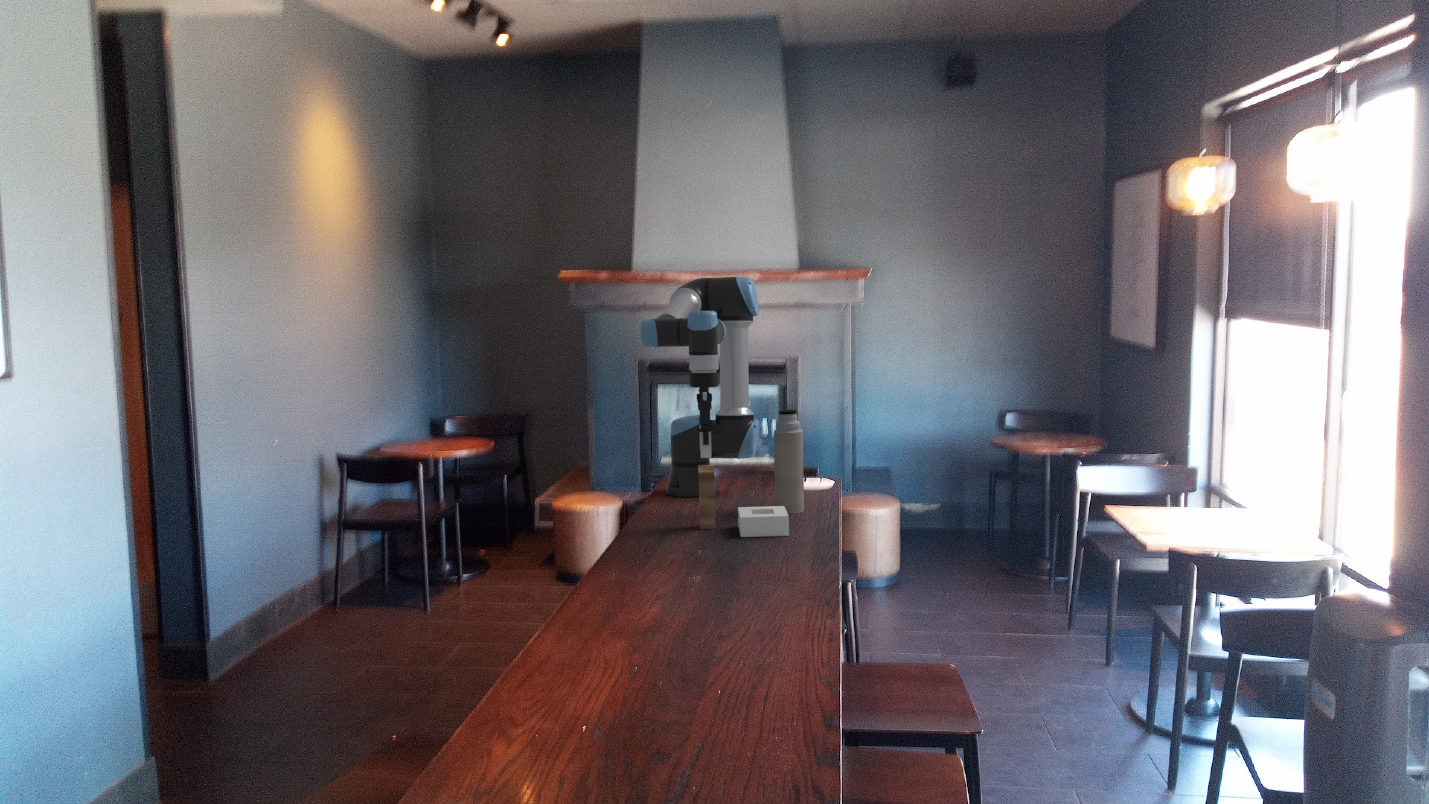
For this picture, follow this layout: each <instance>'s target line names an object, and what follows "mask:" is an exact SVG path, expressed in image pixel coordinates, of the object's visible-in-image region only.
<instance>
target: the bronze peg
mask: <svg viewBox="0 0 1429 804" xmlns="http://www.w3.org/2000/svg"><path fill="white" fill-rule="evenodd" d="M698 473H699V496H698V503H699V506H698V507H699V511H698V512H699V530H716V529H717V528H716V492H715V483H716V482H715V483H714V480H715V464H710V465H698Z"/></svg>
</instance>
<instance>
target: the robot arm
mask: <svg viewBox="0 0 1429 804" xmlns="http://www.w3.org/2000/svg"><path fill="white" fill-rule="evenodd" d="M758 315H759V300H758V293H757V289H756V285H755V283H754V280H753V279H752V278H751V277H747V276H729V277H727V276H725V277H724V276H723V277H721V276H720V277H698V278H696V279H692V280H690V281H688V282H686V283H684V284H683V285H680V286H678V288H677V289H675V290H674V292H673V293H672V294H671V295H670V298H669V303H668V304H667V305H666V306H665V308H664V309H663V310H662V311H661V312H660V314H659V315H658V316H657V318H653V317H651V318H644V319H643V320H642V321H641V324H640V330H639V332H640V333H639V334H640V340H641V343H642V345H643V346H645V347H646V348H647V347H648V348H649V347H651V348H673V347H675V348H676V347H682V348H683V347H688V358H686V361H685V362H686V363H688V364H689V366H688V369H689V371H691V372H689V374H688V378H689V379H688V380H689V384H688V385H689V387H690V388H697V389H698V392H699V393H696V402H697V408H698V409H697V410H698V411H699V414H695V415H689V416H684V417H678V418H676V419H674V420H673V421H672V422H671V423H670V434H669V437H670V456H671V457H670V459H671V468H670V471H669V476H668V479H667V483H666V486H665V492H666V494H667V495H670V496H673V497H680V498H681V497H682V498H683V497H684V498H685V497H686V498H689V497H691V498H692V497H693V498H694V497H699V473H698V465H711V463H710V460H711V459H737V460H741V459H750V458H752V457H754V456H755V455H756V452H757V449H758V445H759V444H758V443H759V438H760V437H759V436H760V420H759V419H757V418H755V413H754V412H753V411H752V409H750V399H749V398H750V392H749V391H750V388H749V387H750V386H749V385H750V384H749V383H750V382H749V376H750V375H749V373H750V372H749V328H750V326H751V325H753V323H754V317H757V316H758ZM718 345H719V348H718ZM718 350H719V351H718ZM718 370H719V373H718ZM718 386H719V389H720V391H719V392H720V393H719V394H720V395H719V399H720V401H719V403H720V405H719V406H720V408H719V409H718V410H717V411H716V413H715V415H714V417H715V419H711V410H712V402H713V393H712V392H711V393H710V388H716V387H718ZM714 483H715V493H716V492H717V484H716V479H714Z"/></svg>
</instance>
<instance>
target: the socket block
mask: <svg viewBox="0 0 1429 804" xmlns="http://www.w3.org/2000/svg"><path fill="white" fill-rule="evenodd" d="M737 515H738V516H737V520H738V521H737V522H738V525H737V526H738V529H739V535H740V538H751V537H752V538H754V537H755V538H757V537H758V538H759V537H785V536H787V537H789V536H790V521H789V519H790V517H789V514H788V513H787V511H786V509H785V507H784V506H775V505H773V506H772V505H771V506H770V505H769V506H739V507H737Z"/></svg>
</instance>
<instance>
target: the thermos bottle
mask: <svg viewBox="0 0 1429 804" xmlns="http://www.w3.org/2000/svg"><path fill="white" fill-rule="evenodd" d="M778 414H779V416H778V420H777V422H776V423H775V424H776V426H775V428H776V429H775V430H774V431H773V460H774V461H773V462H774V463H773V465H774V466H773V467H774V506H784V507H785V509H786V511H787V513H788V515H791V514H800V513H803V512H804V511H805V487H804V486H805V485H804V482H805V480H804V476H805V475H804V430H803V429H801V421H799V420H798V415H797V414H798V411H797V410H796V409H781V410H778Z"/></svg>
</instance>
